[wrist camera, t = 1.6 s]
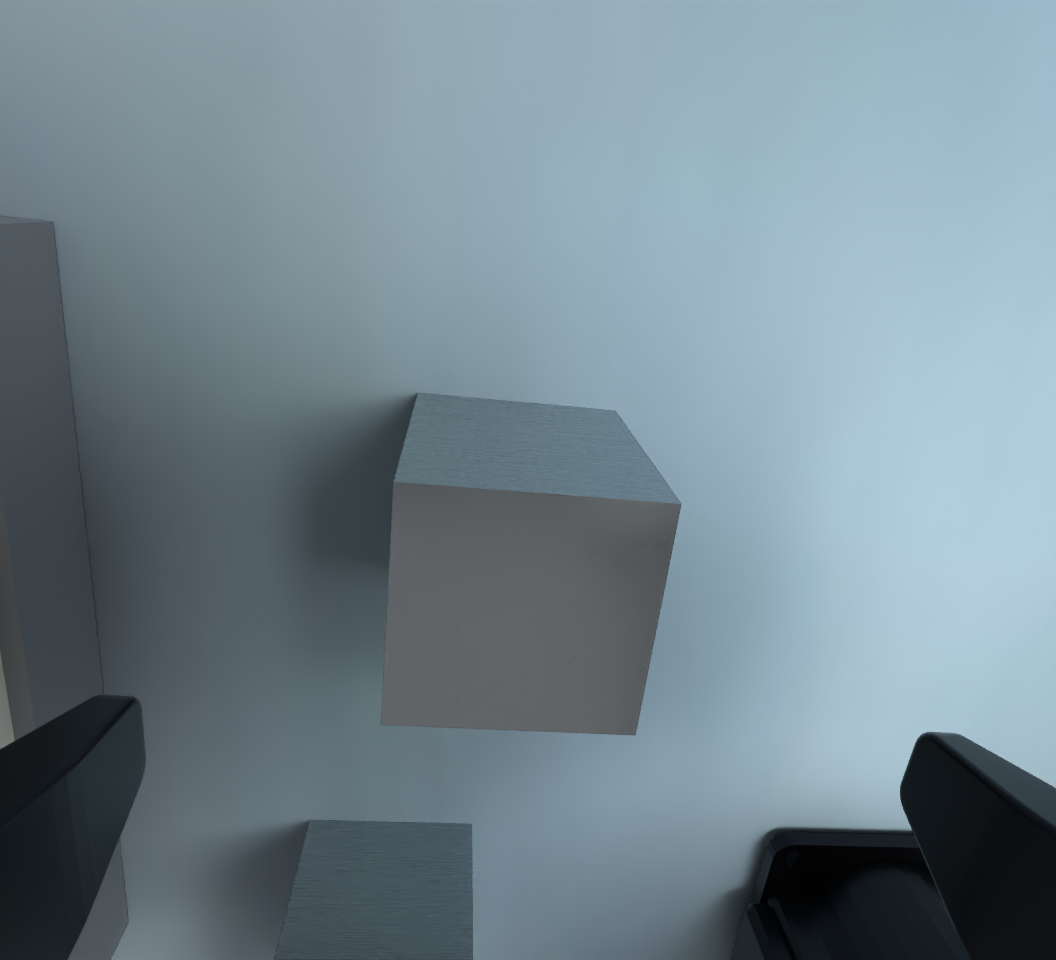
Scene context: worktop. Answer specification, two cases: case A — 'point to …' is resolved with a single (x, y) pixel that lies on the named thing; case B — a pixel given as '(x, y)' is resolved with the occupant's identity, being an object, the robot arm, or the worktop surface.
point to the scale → (45, 530)
